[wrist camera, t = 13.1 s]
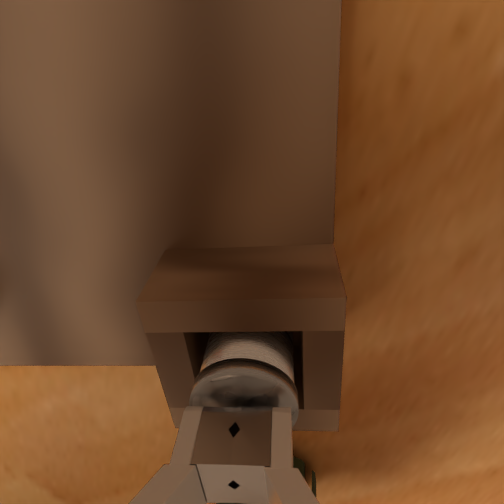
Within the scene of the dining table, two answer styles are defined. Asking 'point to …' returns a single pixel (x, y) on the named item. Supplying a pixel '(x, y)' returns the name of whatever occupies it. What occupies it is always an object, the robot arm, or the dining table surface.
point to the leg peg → (247, 371)
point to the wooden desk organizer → (171, 186)
